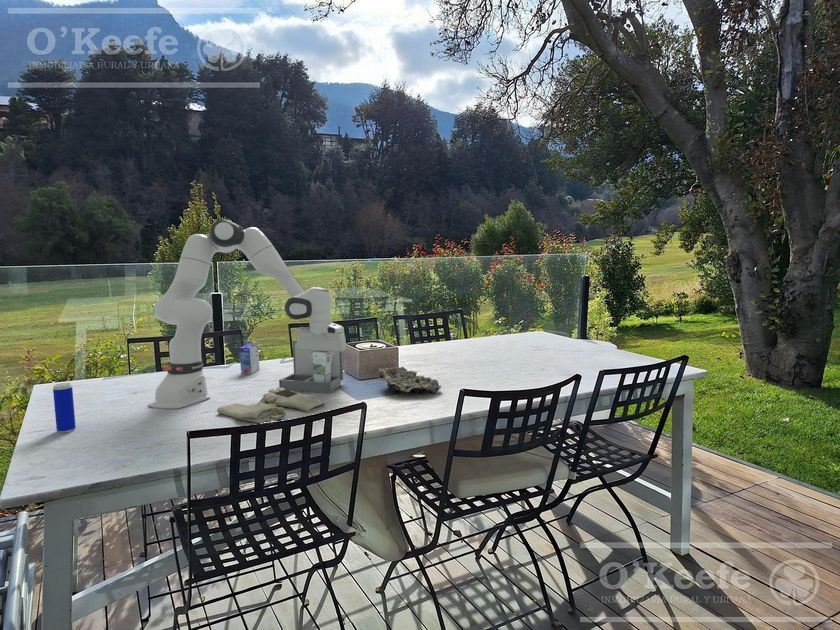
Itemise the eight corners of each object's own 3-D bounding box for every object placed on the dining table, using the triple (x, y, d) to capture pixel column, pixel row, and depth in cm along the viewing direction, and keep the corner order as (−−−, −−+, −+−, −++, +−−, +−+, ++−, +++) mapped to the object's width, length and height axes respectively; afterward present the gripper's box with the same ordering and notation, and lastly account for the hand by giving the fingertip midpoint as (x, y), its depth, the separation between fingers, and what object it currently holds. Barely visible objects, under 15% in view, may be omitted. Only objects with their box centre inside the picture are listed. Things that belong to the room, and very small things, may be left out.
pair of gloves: (282, 396, 222) (282, 383, 221) (327, 408, 206) (327, 394, 205) (213, 415, 198) (212, 400, 197) (258, 430, 182) (257, 414, 182)
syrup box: (331, 384, 234) (331, 350, 232) (325, 388, 228) (325, 352, 226) (318, 383, 235) (318, 349, 233) (312, 387, 230) (312, 351, 228)
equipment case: (330, 393, 224) (329, 348, 222) (279, 389, 230) (277, 345, 228) (343, 384, 238) (342, 342, 236) (295, 381, 243) (294, 340, 241)
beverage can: (79, 427, 184) (75, 382, 182) (69, 433, 178) (65, 386, 177) (62, 428, 183) (58, 382, 182) (53, 433, 178) (49, 386, 176)
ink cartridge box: (248, 369, 268) (247, 338, 266) (260, 369, 267) (258, 338, 265) (240, 374, 258) (238, 342, 256) (251, 374, 257) (250, 342, 255)
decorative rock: (398, 399, 212) (396, 372, 212) (370, 392, 235) (368, 368, 235) (447, 392, 223) (446, 366, 223) (416, 386, 245) (414, 363, 245)
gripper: (293, 327, 228) (294, 361, 229) (341, 329, 223) (342, 364, 225) (300, 325, 234) (301, 358, 236) (347, 327, 229) (347, 360, 231)
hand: (321, 361), depth 230 cm, fingers closed on syrup box, 6 cm apart
